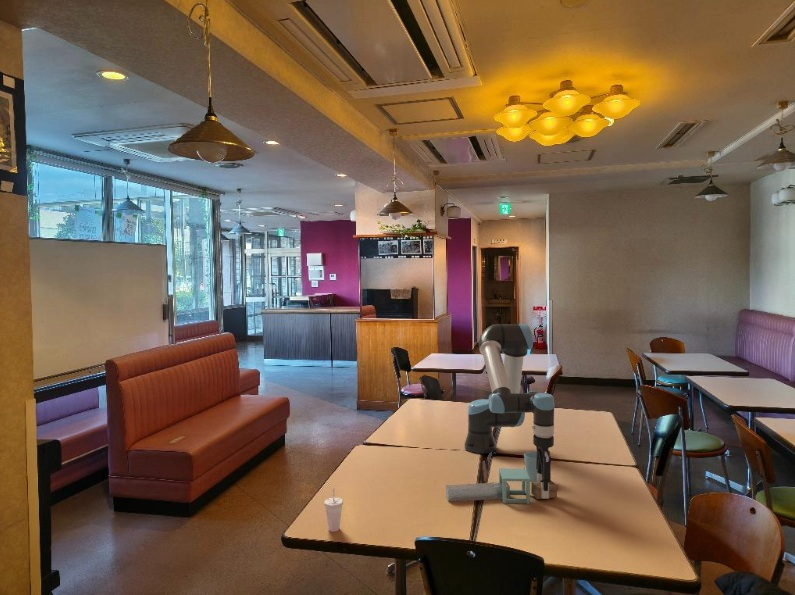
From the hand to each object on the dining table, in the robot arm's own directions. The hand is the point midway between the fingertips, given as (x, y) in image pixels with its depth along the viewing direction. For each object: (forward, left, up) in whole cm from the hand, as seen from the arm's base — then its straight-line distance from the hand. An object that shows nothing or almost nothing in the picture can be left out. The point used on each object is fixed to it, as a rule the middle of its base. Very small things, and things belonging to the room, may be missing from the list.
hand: (542, 494), depth 199 cm
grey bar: (+1, -25, -2) cm, 25 cm away
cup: (-18, 0, -2) cm, 18 cm away
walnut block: (0, 0, 0) cm, 1 cm away
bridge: (0, -11, -1) cm, 11 cm away
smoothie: (+26, -76, -2) cm, 80 cm away
